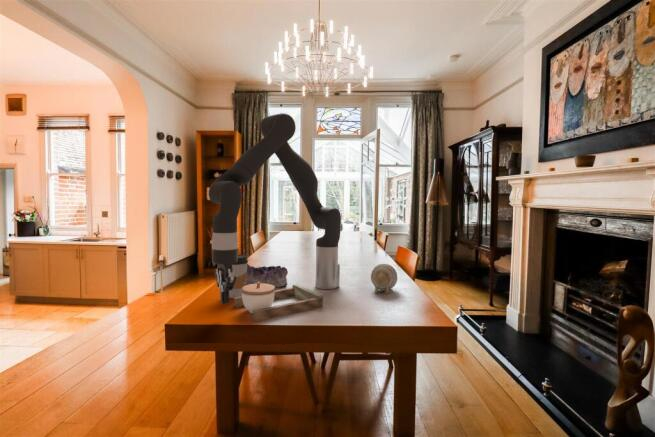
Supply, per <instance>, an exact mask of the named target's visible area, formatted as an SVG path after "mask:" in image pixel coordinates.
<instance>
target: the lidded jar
mask: <svg viewBox="0 0 655 437" xmlns="http://www.w3.org/2000/svg"><path fill="white" fill-rule="evenodd" d="M275 290H276V287H275V286H273V285H271V284H265V283H260V282H257V283H256V284H249V285H246V286H244V287H242V300H243V304H244V306H243V307H244V308H246V310H247V311H248V312H249V313H250V314H253V310H258V309H263V308H268V307H273V303H274V301H275V300H274V296H275Z"/></svg>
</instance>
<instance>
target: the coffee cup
mask: <svg viewBox="0 0 655 437" xmlns="http://www.w3.org/2000/svg"><path fill="white" fill-rule="evenodd" d="M248 260H249V259H248V256H247V255H245V254H238V261H237V262H236V263H233V264H232V268H233V276H236V281H235V284H234V286H233V289H232V290H230V291H229V299H234V298H235V297H240V296H242V287H244V286H246V280H247V264H249V263H248V262H249V261H248Z"/></svg>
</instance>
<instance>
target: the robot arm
mask: <svg viewBox="0 0 655 437" xmlns="http://www.w3.org/2000/svg"><path fill="white" fill-rule="evenodd" d="M296 129H297V126H296V122H295V119H294V118H293V117H292V115H291V114H288V113H282V112H281V113H276V114H272V115H267V116H266V117H264V118H262V120H261V121H260V132H261V135H262V137H263V138H262V139H260V140H259V141H258V142H256V143H255V144H254V145H252V146H251V147H250V148H249V149H247V150H246V151H245V152H244V153H242V154H241V156H239V157H238V159H237V160H236V161H235V162H234V163H233V164H232V166H231V167H230V168H229V169H227V171H225V172H224V173H223V174H221V175H220V176H219V177H217V178H216V179H215V180H213V182H212V184H211V185H210V187H209V189H208V198H209V200H210V201H211V202H212V203H214V204H216V205H220V207H219V211H218V212H216V213H215V214H214V215H213V218H212V235H211V236H212V237H211V263H212V264H214V265H217V266H216V267H217V268H216V269H214V276H215V281H216V284H217V285H216V286H217V288H218V289H219V292H220V296H219V300H220V303H221V304H222V305H225V304H229V303H230V298H229V291H230V290H232V289H233V286H234V284H235V281H236V276H233V268H232V264H233V263H236V262H237V261H238V255H239V254H238V252H239V251H238V249H239V247H238V245H239V244H238V243H239V242H238V241H239V239H238V216H239V213H240V211H241V210H240V209H241V205H242V200H243V193H242V189H241V187H242V186H245V185H248V183H250V181H252V179H253V178H254V176H256V174H257V173H258V172H259V170H260V169H261V168H263V167H262V166H264V165H265V163H266V162H267V161H268V160H270V158H271V157H272V156H273V155H275V156H276V157H277V159H278V160H279V162H280V164H281V166H282V167H283V168H284V170H285V171H286V173H287V175H288V178H289V179H290V181H291V183H292V184H293V186H294V188H295V189H296V191H297V193H298V195H299V196H300V199H301V201H302V202H303V203H304V206H305V207H306V208H305V209H306V211H307V212H308V214H309V217H310V219H311V222H312V224H313V225H314V227H316V228H317V229H320V230H324V234H323V235H322V236H321V237H318V238H317V239H316V240H315V288H317V289H321V290H334V289H337V288H338V287H340V276H341V275H340V273H341V272H340V270H341V267H340V266H341V264H340V263H339V242H340V240H341V226H342V215H341V212H340V210H339V209H338V208H336V207H326V206H323V204H322V203H321V201H320V199H319V197H318V189H319V188H318V187H319V181H318V177H317V176H316V173H315V172H314V170H313V168H312V166H311V164H310V163H309V162H308V161H307V160H306V159H305V158H304V157H303V156H301V155H300V154H299V153H297V151H295V150H294V149H293V148H292V146H291V145H290V144H289V142H288V141H290V140H291V139H292V138H293V136H294V135H295V133H296Z"/></svg>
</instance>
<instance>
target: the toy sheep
mask: <svg viewBox="0 0 655 437" xmlns="http://www.w3.org/2000/svg"><path fill="white" fill-rule="evenodd" d="M370 281H371V283H372V285H373V286H374V293H376V294H378V293H379V290H381V291H384V294H385V295H388V294H389V290H392V289H393V288H394V287H395V286H396V284H397V282H398V272H397V269H395V268H394V267H393V266H392V265H390V264H388V263H380V264H378V265H376V266H374V267H373V269H372V270H371V273H370Z"/></svg>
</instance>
